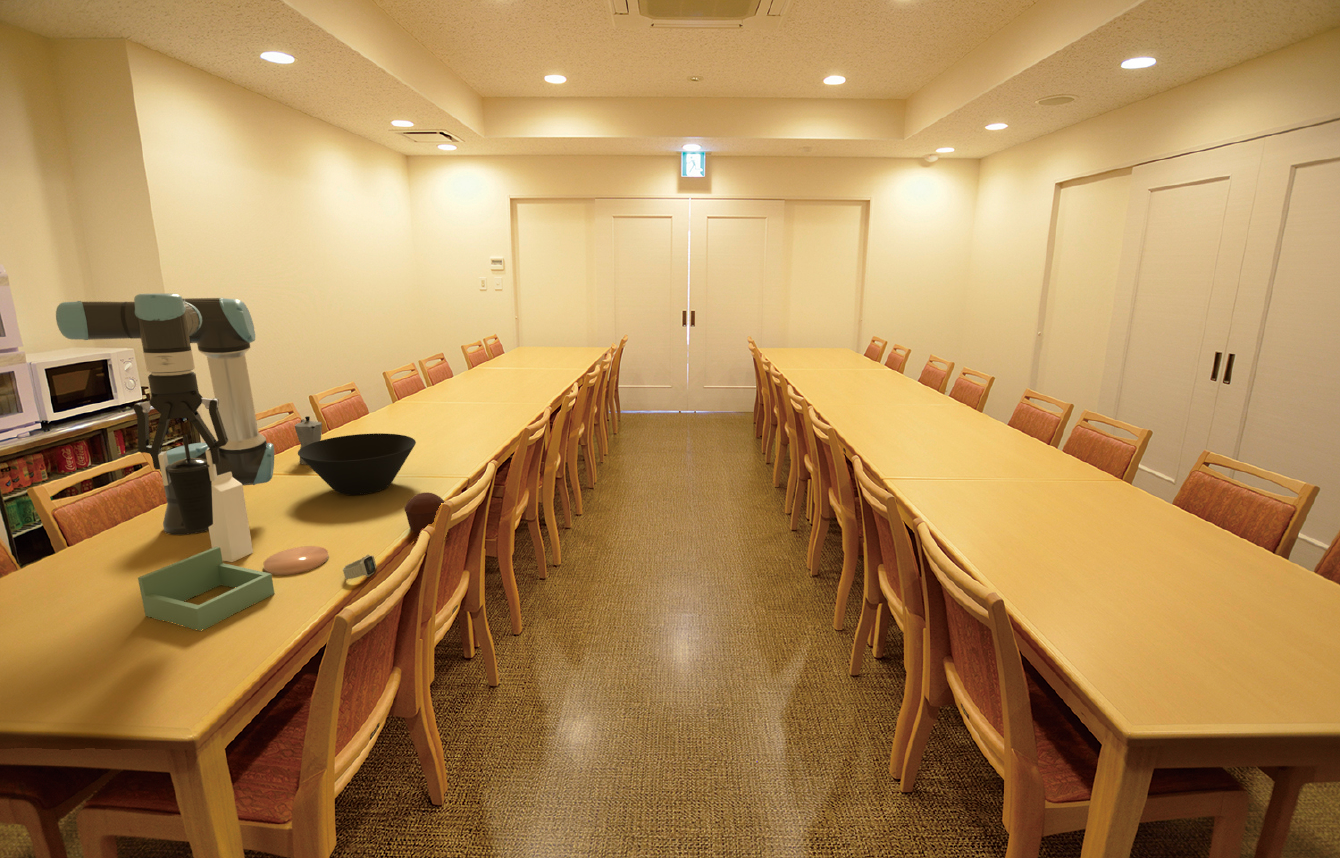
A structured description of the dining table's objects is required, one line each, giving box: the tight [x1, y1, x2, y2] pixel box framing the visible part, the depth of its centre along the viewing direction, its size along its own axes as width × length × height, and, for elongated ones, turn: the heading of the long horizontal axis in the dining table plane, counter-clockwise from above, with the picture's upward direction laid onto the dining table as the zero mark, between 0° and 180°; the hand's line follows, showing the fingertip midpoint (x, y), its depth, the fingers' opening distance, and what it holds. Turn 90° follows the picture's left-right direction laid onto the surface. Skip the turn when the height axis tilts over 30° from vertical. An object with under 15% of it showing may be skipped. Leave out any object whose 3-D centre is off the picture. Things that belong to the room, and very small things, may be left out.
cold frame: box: [137, 547, 275, 632], centre depth 134 cm, size 16×16×9 cm
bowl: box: [297, 432, 417, 496], centre depth 209 cm, size 36×36×15 cm
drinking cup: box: [166, 434, 213, 530], centre depth 129 cm, size 8×8×20 cm
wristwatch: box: [342, 554, 377, 580], centre depth 150 cm, size 9×6×5 cm
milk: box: [208, 472, 254, 563], centre depth 156 cm, size 6×6×22 cm
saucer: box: [263, 545, 329, 576], centre depth 155 cm, size 14×14×1 cm
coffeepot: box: [294, 416, 323, 466], centre depth 238 cm, size 15×9×18 cm, turn 44°
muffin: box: [403, 492, 445, 534], centre depth 177 cm, size 12×11×10 cm
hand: (191, 480), depth 129 cm, fingers closed on drinking cup, 7 cm apart
